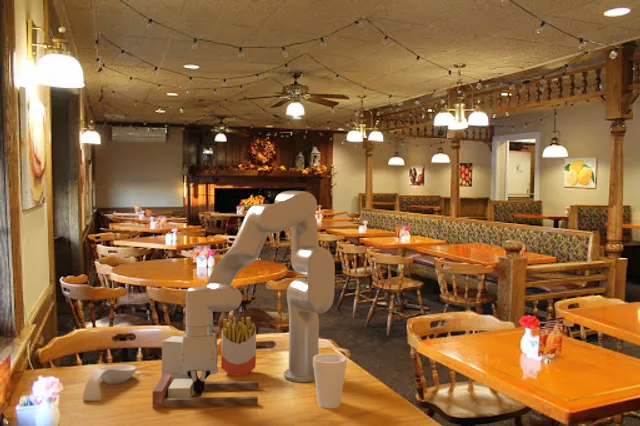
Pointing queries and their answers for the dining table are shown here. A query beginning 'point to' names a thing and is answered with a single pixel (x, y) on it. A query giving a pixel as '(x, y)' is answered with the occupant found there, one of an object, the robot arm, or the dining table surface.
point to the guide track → (162, 393)
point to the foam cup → (329, 378)
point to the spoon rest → (106, 379)
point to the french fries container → (238, 347)
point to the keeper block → (181, 388)
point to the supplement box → (172, 357)
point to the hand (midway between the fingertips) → (198, 393)
